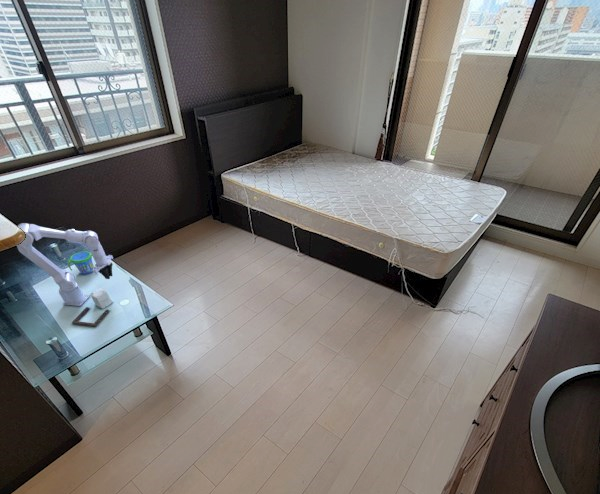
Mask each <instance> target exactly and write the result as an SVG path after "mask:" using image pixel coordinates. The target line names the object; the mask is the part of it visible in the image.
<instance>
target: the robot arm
mask: <svg viewBox="0 0 600 494" xmlns="http://www.w3.org/2000/svg"><path fill="white" fill-rule="evenodd" d="M17 226H18V227H19V228H21V229H22V230H23V231H24V232H25V234H26V238H25V240H24V241H23V242H22V243H21V244H19V245H16V247H17V250H18V252H19V253H20V254H21V255H23V256H24V257H26V258H27V259H28V260H30V261H31V262H32V263H33V264H34V265H36V266H37V267H39V268H40V269H41V270H42V271H44V272H45V273H47V274H48V275H49V276H50V277H52V279H53V280H54V282H55V284H56V285H58V286H59V289H58V293H59V295H60V297H61V299H62V300H63V302H64V303H63V305H69V306H74V307H75V306H76V307H81V306H82V305H83V304H84V303H85V302H86V301H87V300H88V299H89V298H90V296H89V295H84V293H83V291H82V289H81V287H80V286H79V284H78V282H76V281H75V278H76V277H75V275H74V273H72V272H69V271H67V270H66V269H62V268H60V267H59V266H58V265H56V264H55V263H54V262H52V261H51V260H50V259H49V258H47V257H46V256H45V255H44V254H43V253H42V252H40V251H39V250H38V249H36V248H35V247H34V246H33V243H34V241H36V242H37V241H39V240H41V239H42V238H52V239H63V240H65V241H66V242H68V243H74V244H83V245H85V246H87V247H88V250H89V253H91V254H92V258H93V260H94V263H95V264H94V269H93V270H92V271H93V272H92V273H93V274H94V275H98V274H99V273H100V275H102V276H103V278H104V279H106V280H111V277H113V265H114V264H113V262H111V260H113V259H114V257H113V255H112V254H108V255H107V254H106V253H105V250H104V248H103V246H102V244H101V242H100V240H99V236H98V233H97V232H95V231H93V230H90V229H89V230H85V231H82V230H75V228H71V229H67V230H59V229H55V228H50V227H45V226H40V225H37V224H35V223H27V222H21V223H19V224H18V225H17Z"/></svg>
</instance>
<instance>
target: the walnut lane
mask: <svg viewBox="0 0 600 494" xmlns="http://www.w3.org/2000/svg"><path fill="white" fill-rule="evenodd" d="M89 310H90V308H89V307H88V306H87V307H84V309H83V310H82V311H81V312H80V313H79V314H78V315H77V316H76V317H75V318H74V319H73V320H72V321H71V324H72V325H77V326H85V327H93V328H96V327H97V326H98V325H99V324H100V323H101V321H103V319H104V318H105V317H106V316H107V315H108V314H109V313H110V310H109V309H105V310H104V311H103V313H102V314H100V316H99V317H98V318H97V319H96V321H94V323H93V322H85V321H80V320H81V319H82V318H83V316H85V315H86V313H87V312H88V311H89Z"/></svg>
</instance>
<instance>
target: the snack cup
mask: <svg viewBox="0 0 600 494" xmlns="http://www.w3.org/2000/svg"><path fill="white" fill-rule="evenodd" d="M92 258H93V256H92V254H91V252H90V251H78V252H75V253H74V254H72V255H71V256H70V258H69V260H68V261H67V266H68V268H69V270H70V271H71V272H72V271H73V269H72V267H71V265H70V264H71V263H72V264H73V265H74V266H75V267H76V269H77V270H78V271H79V273H80V274H83V275H88V274H91V273H93V271H92V270H93V269H94V267H95V264H94V262H93V259H92Z"/></svg>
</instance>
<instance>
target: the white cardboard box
mask: <svg viewBox="0 0 600 494" xmlns="http://www.w3.org/2000/svg"><path fill="white" fill-rule="evenodd" d="M89 295H90V296H89V297H91V299H92V301H93V303H94V305H95V306H96V307H98V308H100V309H102V310H103V309H105V308H106V307H108V306H109V305H111V304H112V303H113V302H112V299H111V298H110V295H109V293H108V291H106V290H104V289H103V288H98V289H96V290H95V291H92V292H91V293H89Z"/></svg>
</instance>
